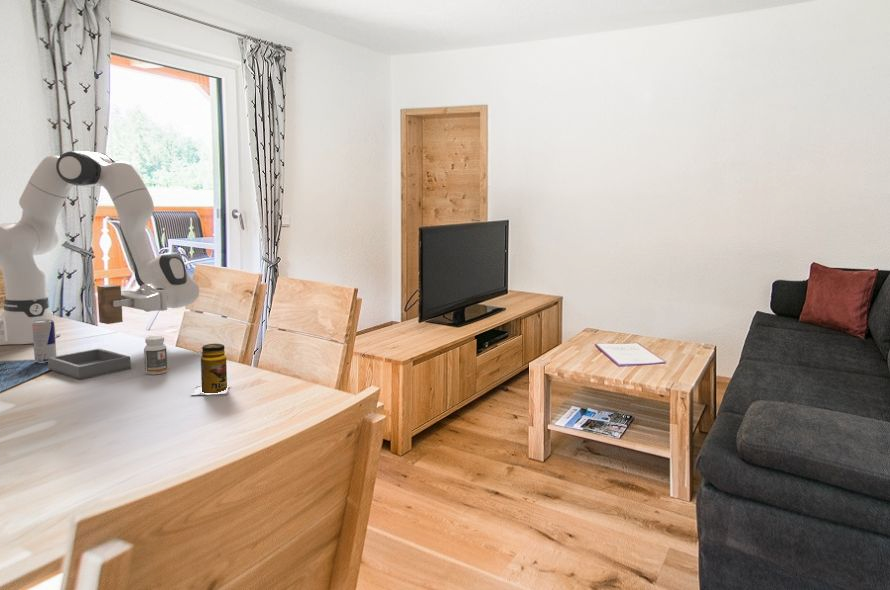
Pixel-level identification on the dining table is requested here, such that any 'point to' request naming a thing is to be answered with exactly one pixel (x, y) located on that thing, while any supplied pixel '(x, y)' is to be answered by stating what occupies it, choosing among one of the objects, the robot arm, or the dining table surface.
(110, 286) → the walnut block
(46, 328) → the energy drink
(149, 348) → the pill bottle
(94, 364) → the tote
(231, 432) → the dining table surface
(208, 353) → the condiment
